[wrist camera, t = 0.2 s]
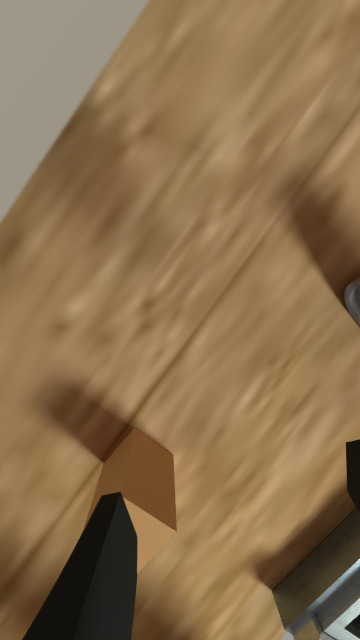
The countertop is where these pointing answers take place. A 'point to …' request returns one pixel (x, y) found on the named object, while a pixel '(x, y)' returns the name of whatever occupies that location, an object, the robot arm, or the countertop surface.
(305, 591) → the nested square metal frame
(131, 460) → the tan cardboard-like brick
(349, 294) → the tin
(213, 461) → the countertop surface
